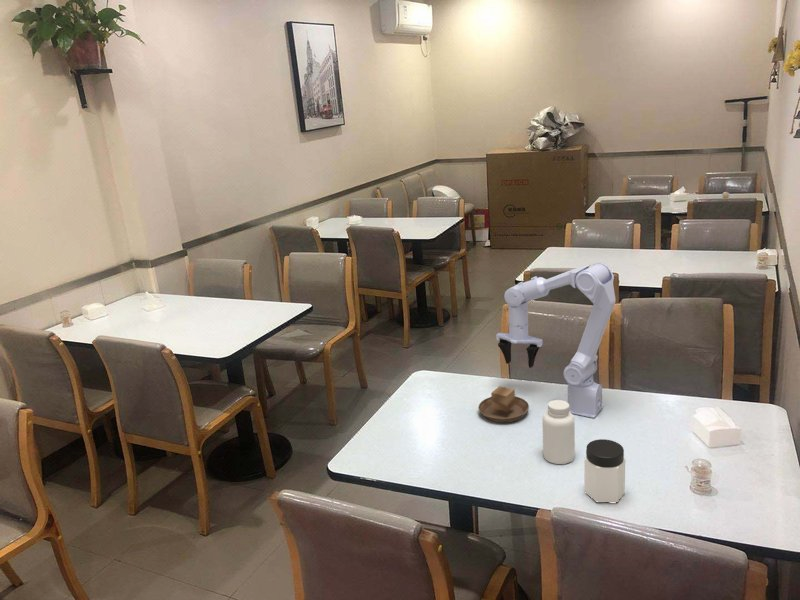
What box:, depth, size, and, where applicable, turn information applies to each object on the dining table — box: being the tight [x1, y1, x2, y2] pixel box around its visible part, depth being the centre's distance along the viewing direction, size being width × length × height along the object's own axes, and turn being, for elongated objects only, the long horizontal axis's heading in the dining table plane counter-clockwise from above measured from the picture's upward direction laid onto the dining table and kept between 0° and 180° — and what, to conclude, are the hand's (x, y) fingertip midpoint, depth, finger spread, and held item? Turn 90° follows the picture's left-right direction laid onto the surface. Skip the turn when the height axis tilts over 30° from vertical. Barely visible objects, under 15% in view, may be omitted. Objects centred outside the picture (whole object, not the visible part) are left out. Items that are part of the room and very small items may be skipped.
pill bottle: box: [541, 399, 576, 465], centre depth 161 cm, size 8×8×15 cm
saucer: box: [478, 395, 530, 423], centre depth 187 cm, size 15×15×3 cm
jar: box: [583, 438, 626, 503], centre depth 145 cm, size 9×8×12 cm
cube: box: [490, 385, 516, 412], centre depth 186 cm, size 5×5×5 cm
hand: (519, 364), depth 196 cm, fingers open, 7 cm apart
